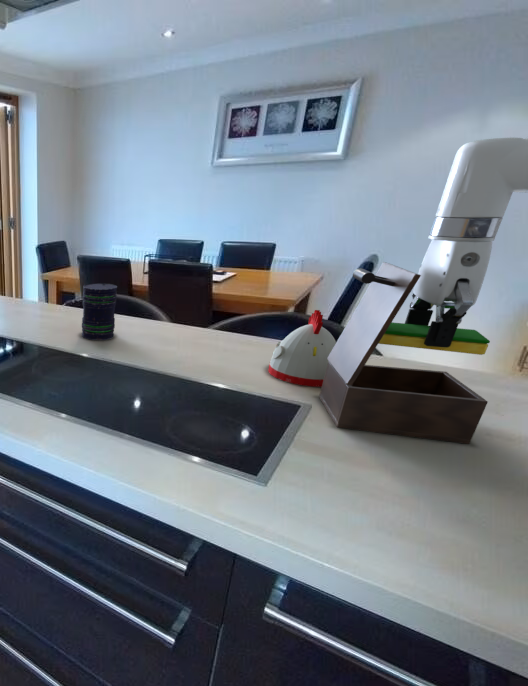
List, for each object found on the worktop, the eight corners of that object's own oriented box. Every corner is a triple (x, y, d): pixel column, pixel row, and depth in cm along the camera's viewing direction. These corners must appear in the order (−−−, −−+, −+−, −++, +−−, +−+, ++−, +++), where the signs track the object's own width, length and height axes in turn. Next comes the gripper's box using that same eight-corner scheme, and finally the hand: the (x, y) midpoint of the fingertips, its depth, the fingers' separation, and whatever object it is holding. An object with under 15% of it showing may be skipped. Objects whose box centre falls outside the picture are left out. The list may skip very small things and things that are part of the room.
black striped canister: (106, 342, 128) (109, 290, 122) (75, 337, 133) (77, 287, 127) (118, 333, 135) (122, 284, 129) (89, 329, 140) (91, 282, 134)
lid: (387, 262, 78) (353, 254, 79) (421, 275, 66) (380, 265, 68) (331, 360, 87) (300, 351, 88) (351, 385, 75) (316, 375, 77)
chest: (431, 409, 84) (446, 371, 81) (469, 444, 72) (488, 401, 69) (318, 397, 90) (328, 361, 87) (336, 427, 79) (348, 387, 76)
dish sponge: (484, 355, 69) (491, 340, 68) (375, 343, 76) (379, 330, 75) (470, 343, 75) (476, 329, 74) (369, 333, 81) (373, 320, 80)
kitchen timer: (272, 382, 98) (286, 316, 92) (264, 361, 110) (277, 302, 104) (346, 390, 93) (366, 321, 87) (330, 367, 105) (347, 305, 99)
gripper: (532, 234, 59) (481, 357, 66) (464, 226, 74) (428, 326, 81) (461, 234, 62) (419, 352, 69) (409, 226, 77) (379, 324, 83)
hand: (424, 338), depth 75 cm, fingers closed on dish sponge, 7 cm apart
